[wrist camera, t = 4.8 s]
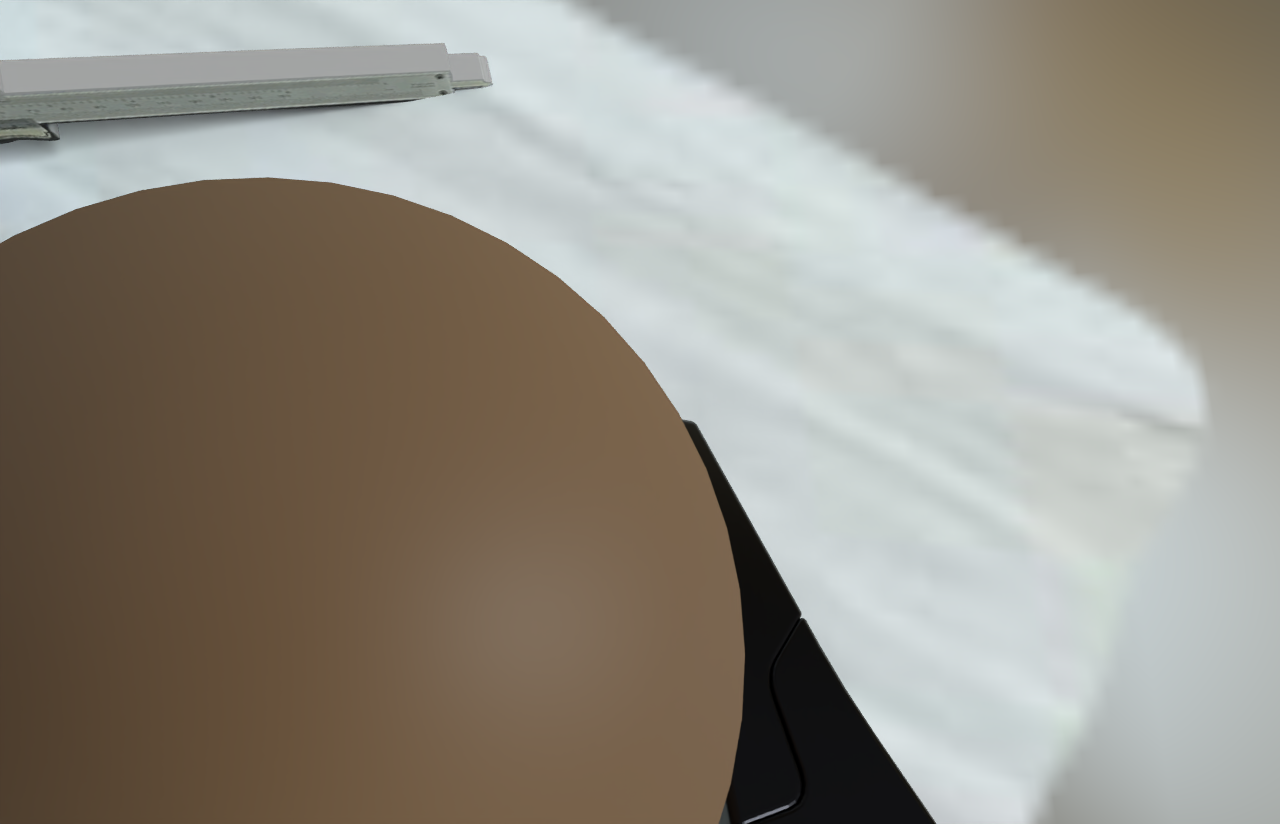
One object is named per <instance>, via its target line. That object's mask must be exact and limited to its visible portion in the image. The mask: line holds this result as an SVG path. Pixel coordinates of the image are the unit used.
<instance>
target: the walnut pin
mask: <svg viewBox="0 0 1280 824" xmlns="http://www.w3.org/2000/svg"><path fill="white" fill-rule="evenodd" d="M744 664H745V648H744V635H743V623H742V610H741V597H740V588H739V583H738V578H737V574H736V569H735V564H734V559H733V554H732V550H731V545H730V540H729V535H728V531H727V527H726V524H725V521H724V518H723V515H722V512H721V509H720V507H719V504H718V501H717V498H716V495H715V492H714V489H713V486H712V484H711V481H710V478H709V475H708V472H707V469H706V467H705V465H704V463H703V461H702V459H701V457H700V455H699V453H698V451H697V449H696V447H695V445H694V443H693V441H692V439H691V437H690V435H689V433H688V431H687V429H686V427H685V425H684V423H683V421H682V419H681V417H680V415H679V413H678V412H677V410H676V409H675V407H674V406H673V404H672V403H671V401H670V400H669V398H668V397H667V396H666V394H665V393H664V391H663V390H662V388H661V387H660V385H659V384H658V382H657V381H656V379H655V378H654V376H653V375H652V373H651V372H650V370H649V369H648V367H647V366H646V364H645V363H644V362H643V361H642V360H641V358H640V357H639V356H638V355H637V354H636V353H635V352H634V350H633V349H632V348H631V347H630V346H629V345H628V344H627V343H626V341H625V340H624V339H623V338H622V337H621V336H620V335H619V334H618V332H617V331H616V330H615V329H614V328H613V327H612V326H611V324H610V323H609V322H608V321H607V320H606V319H605V318H604V317H603V316H602V315H601V314H600V313H599V312H598V311H596V310H595V309H594V308H593V307H592V306H591V305H590V304H588V303H587V302H586V301H585V300H584V299H583V298H582V297H580V296H579V295H578V294H577V293H576V292H575V291H573V290H572V289H571V288H570V287H569V286H568V285H567V284H565V283H564V282H563V281H562V280H561V279H560V278H559V277H557V276H556V275H554V274H553V273H551V272H550V271H548V270H547V269H545V268H544V267H542V266H541V265H539V264H538V263H536V262H535V261H533V260H532V259H530V258H529V257H527V256H526V255H524V254H523V253H521V252H520V251H518V250H517V249H515V248H514V247H512V246H511V245H509V244H508V243H506V242H504V241H502V240H500V239H498V238H496V237H494V236H492V235H490V234H488V233H486V232H484V231H482V230H480V229H478V228H476V227H474V226H472V225H469V224H467V223H465V222H463V221H461V220H459V219H457V218H455V217H453V216H451V215H448V214H445V213H442V212H439V211H437V210H434V209H431V208H428V207H425V206H422V205H419V204H416V203H413V202H410V201H408V200H405V199H402V198H399V197H396V196H393V195H388V194H383V193H379V192H374V191H369V190H364V189H359V188H355V187H350V186H345V185H340V184H335V183H329V182H317V181H305V180H292V179H280V178H245V179H221V180H202V181H196V182H190V183H184V184H178V185H172V186H166V187H160V188H153V189H147V190H141V191H137V192H134V193H130V194H127V195H123V196H120V197H116V198H113V199H110V200H106V201H103V202H99V203H96V204H92V205H89V206H86V207H82V208H79V209H75V210H73V211H71V212H68V213H66V214H64V215H61V216H59V217H57V218H54V219H52V220H50V221H47V222H45V223H43V224H40V225H38V226H36V227H33V228H31V229H29V230H26V231H24V232H22V233H19V234H17V235H14V236H13V237H11V238H9V239H7V240H6V241H4V242H2V243H0V824H719V821H720V817H721V814H722V811H723V808H724V804H725V801H726V798H727V794H728V791H729V788H730V785H731V779H732V773H733V768H734V762H735V756H736V750H737V744H738V739H739V733H740V727H741V721H742V707H743V685H744Z"/></svg>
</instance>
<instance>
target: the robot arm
mask: <svg viewBox="0 0 1280 824" xmlns="http://www.w3.org/2000/svg"><path fill="white" fill-rule="evenodd" d="M682 421H683V423H684V425H685V427H686V429H687V431H688V433H689V435H690V437H691V439H692V441H693V443H694V445H695V447H696V449H697V451H698V453H699V455H700V457H701V459H702V461H703V463H704V465H705V467H706V469H707V472H708V475H709V478H710V481H711V484H712V486H713V489H714V492H715V495H716V498H717V501H718V504H719V507H720V509H721V512H722V515H723V518H724V521H725V524H726V527H727V531H728V535H729V540H730V545H731V550H732V554H733V559H734V564H735V569H736V574H737V578H738V583H739V588H740V597H741V610H742V623H743V635H744V648H745V664H744V685H743V707H742V721H741V727H740V733H739V739H738V744H737V750H736V756H735V762H734V768H733V773H732V779H731V785H730V788H729V791H728V794H727V798H726V801H725V804H724V808H723V811H722V814H721V817H720V821H719V824H936V822H935V821H934V819H933V818H932V817H931V815H930V814H929V812H928V811H927V809H926V808H925V806H924V805H923V803H922V802H921V800H920V799H919V798H918V796H917V795H916V793H915V792H914V790H913V789H912V787H911V786H910V784H909V783H908V781H907V780H906V779H905V777H904V776H903V774H902V773H901V771H900V770H899V768H898V767H897V765H896V764H895V763H894V761H893V760H892V758H891V757H890V755H889V754H888V752H887V751H886V749H885V748H884V746H883V745H882V744H881V742H880V741H879V739H878V738H877V736H876V735H875V733H874V732H873V730H872V729H871V727H870V726H869V724H868V723H867V721H866V719H865V718H864V716H863V715H862V713H861V712H860V710H859V709H858V707H857V706H856V704H855V703H854V701H853V700H852V698H851V697H850V695H849V693H848V692H847V690H846V689H845V687H844V686H843V684H842V682H841V680H840V679H839V677H838V675H837V674H836V672H835V670H834V669H833V667H832V665H831V664H830V662H829V660H828V658H827V657H826V655H825V653H824V652H823V650H822V648H821V647H820V645H819V643H818V641H817V639H816V638H815V636H814V634H813V632H812V630H811V629H810V627H809V625H808V623H807V621H806V620H805V619H804V618H800V617H801V611H800V609H799V607H798V606H797V604H796V602H795V600H794V598H793V597H792V595H791V593H790V591H789V589H788V588H787V586H786V584H785V582H784V580H783V579H782V577H781V575H780V573H779V571H778V570H777V568H776V566H775V564H774V563H773V561H772V559H771V557H770V555H769V554H768V552H767V550H766V548H765V546H764V545H763V543H762V541H761V539H760V537H759V536H758V534H757V532H756V530H755V528H754V527H753V525H752V523H751V521H750V519H749V518H748V516H747V514H746V512H745V510H744V509H743V507H742V505H741V503H740V501H739V500H738V498H737V496H736V494H735V493H734V491H733V489H732V487H731V485H730V484H729V482H728V480H727V478H726V476H725V475H724V473H723V471H722V469H721V467H720V466H719V464H718V462H717V460H716V458H715V457H714V455H713V453H712V451H711V449H710V448H709V446H708V444H707V442H706V440H705V439H704V437H703V435H702V433H701V431H700V430H699V428H698V426H697V425H696V424H695V423H694V422H692V421H688V420H682Z"/></svg>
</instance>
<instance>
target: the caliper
mask: <svg viewBox="0 0 1280 824" xmlns="http://www.w3.org/2000/svg"><path fill="white" fill-rule="evenodd" d="M491 85H493V84H492V79H491V75H490V70H489V66H488V62H487V58H486V57H485V56H479V54H478V53H460V54H448V53H447V49H446V46H445V44H444V43H436V44H408V45H381V46H353V47H325V48H298V49H273V50H248V51H223V52H198V53H173V54H148V55H123V56H98V57H73V58H48V59H23V60H0V144H3V143H9V142H13V141H16V140H45V141H53V140H59V139H60V136H59V131H58V125H57V123H71V122H86V121H101V120H117V119H132V118H148V117H163V116H178V115H194V114H209V113H224V112H240V111H256V110H273V109H290V108H306V107H323V106H340V105H357V104H374V103H391V102H408V101H414V100H419V99H425V98H430V97H435V96H440V95H446V94H451V93H455V89H460V88H481V87H488V86H491Z"/></svg>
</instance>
